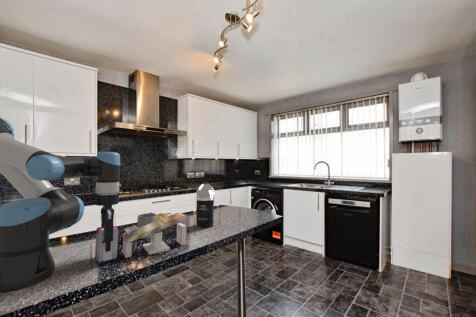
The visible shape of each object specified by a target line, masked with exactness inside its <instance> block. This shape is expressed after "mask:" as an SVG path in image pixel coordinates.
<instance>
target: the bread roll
mask: <svg viewBox="0 0 476 317" xmlns="http://www.w3.org/2000/svg"><path fill="white" fill-rule="evenodd" d="M149 213H152V214H156V221H158V220H160V219H162V218H164V217H167V216H169V215H167V213H162V212H160V213H158V214H157V213H155V212H149Z"/></svg>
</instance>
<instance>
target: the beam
mask: <svg viewBox="0 0 476 317" xmlns="http://www.w3.org/2000/svg"><path fill="white" fill-rule="evenodd" d="M186 220H187V215H186V214H183V213H180V212H175V213H173V214H170V215H168V216H167V217H164V218H162V219H160V220H158V221H155V222H153V223H150V224H148V225H145V226H142V227H140V228H137V225H136V224H134V225H131V226H129V227H126V228H124V233H122V237H123V239H125V241H126V243H127V244H128V243H130V242H134V241H137V240H140V238H142V237H144V236H147V235H149V234H152V233H154V232H158V233H160V232H161V231H162V230H163V229H166V228H169V227H171V226H173V225H177V223H182V222H183V221H186ZM162 232H163V231H162Z"/></svg>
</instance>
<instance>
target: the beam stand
mask: <svg viewBox="0 0 476 317" xmlns="http://www.w3.org/2000/svg"><path fill="white" fill-rule="evenodd" d="M149 239H150V242H148V243H144V244H142V248H143V249H144V251H146V253H147V254H148V255H155V254H159V253H162V252H167V251H170V249H171V248H170V246H168V244H166V243H165V241H163V231H161V232H160V233H158V232H154V233H152V234H151V238H149ZM132 242H133V241H132ZM132 242H130V243H128V244H127V243H126V241H125V239H124V238H123V239H122V254H123V256H124V258H125V259H126V258H131V257H132V253H133V252H132V248H133V246H132V244H133V243H132ZM176 242H177V243H178V244H179V245H180V246H186V245H187V225H186V224H184V223H183V222H178V223H176Z"/></svg>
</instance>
